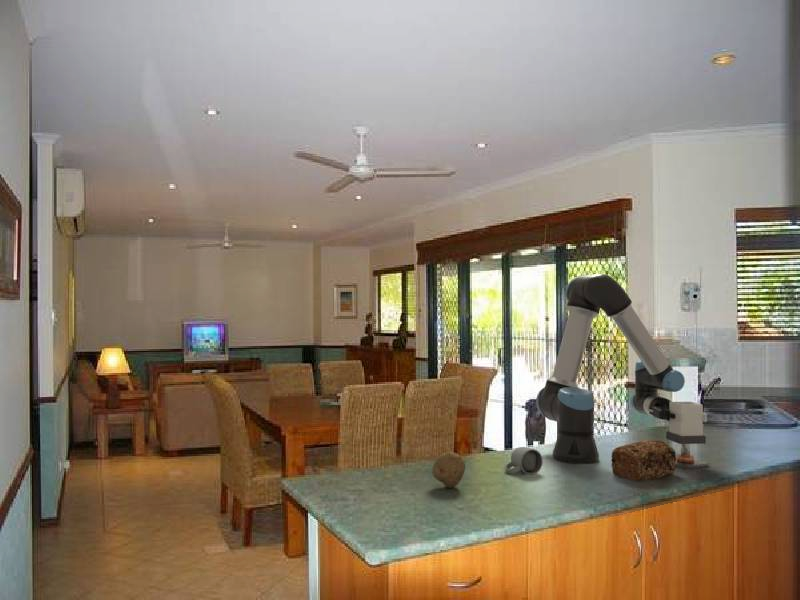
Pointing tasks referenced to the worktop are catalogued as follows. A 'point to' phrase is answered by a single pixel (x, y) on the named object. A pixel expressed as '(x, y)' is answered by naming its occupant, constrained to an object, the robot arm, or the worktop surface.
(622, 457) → the bread
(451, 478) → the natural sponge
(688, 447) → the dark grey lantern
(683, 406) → the sleeve
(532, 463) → the ceramic mug
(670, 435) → the dark grey square slab
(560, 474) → the worktop surface
